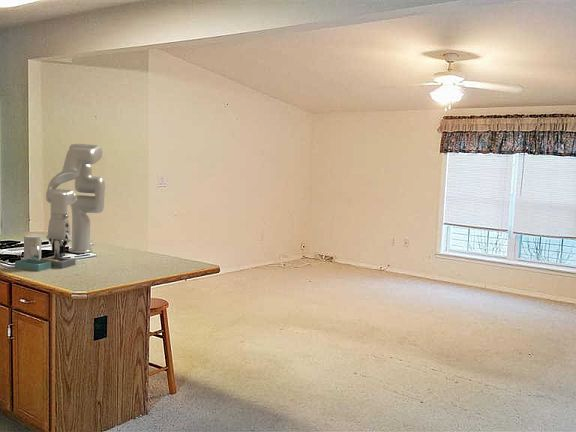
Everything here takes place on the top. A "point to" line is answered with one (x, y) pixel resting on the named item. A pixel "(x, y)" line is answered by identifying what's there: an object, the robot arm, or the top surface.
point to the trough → (33, 264)
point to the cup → (31, 244)
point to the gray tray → (60, 261)
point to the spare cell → (35, 252)
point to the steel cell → (57, 248)
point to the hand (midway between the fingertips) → (58, 252)
